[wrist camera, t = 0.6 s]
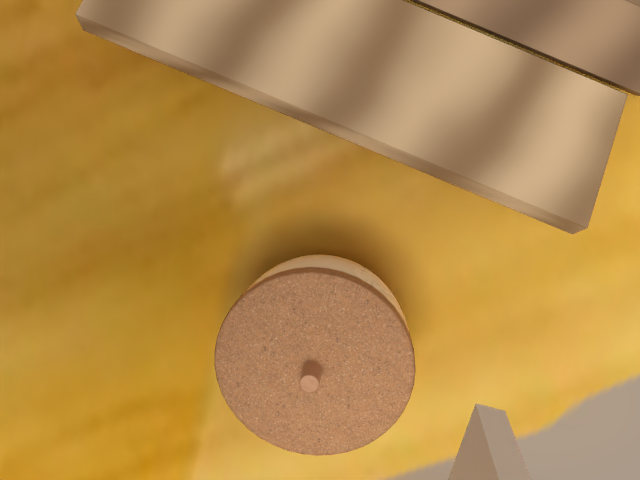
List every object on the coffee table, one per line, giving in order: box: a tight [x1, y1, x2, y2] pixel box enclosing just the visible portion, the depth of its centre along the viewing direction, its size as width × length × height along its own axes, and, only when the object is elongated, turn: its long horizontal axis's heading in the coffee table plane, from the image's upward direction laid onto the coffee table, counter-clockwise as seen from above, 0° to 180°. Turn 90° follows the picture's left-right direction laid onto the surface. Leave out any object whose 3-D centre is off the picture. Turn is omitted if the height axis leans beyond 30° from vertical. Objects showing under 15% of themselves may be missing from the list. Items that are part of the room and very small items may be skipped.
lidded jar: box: [215, 254, 415, 455], centre depth 35 cm, size 11×11×9 cm
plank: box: [75, 0, 627, 234], centre depth 33 cm, size 28×8×2 cm
